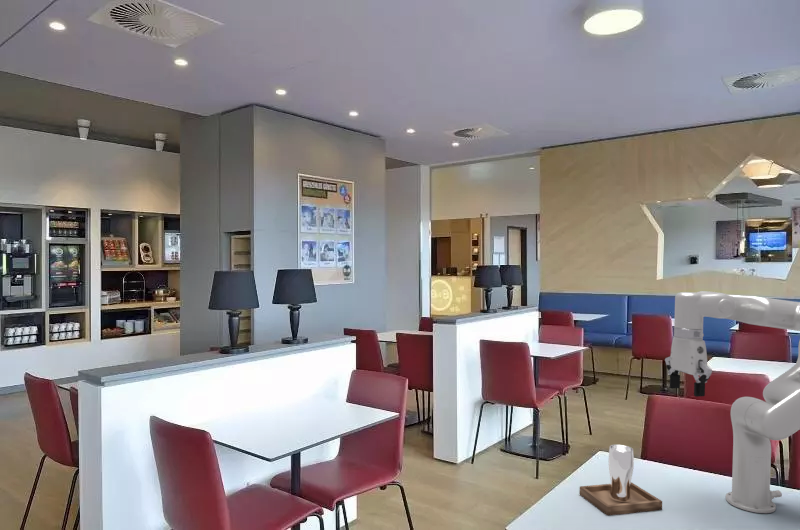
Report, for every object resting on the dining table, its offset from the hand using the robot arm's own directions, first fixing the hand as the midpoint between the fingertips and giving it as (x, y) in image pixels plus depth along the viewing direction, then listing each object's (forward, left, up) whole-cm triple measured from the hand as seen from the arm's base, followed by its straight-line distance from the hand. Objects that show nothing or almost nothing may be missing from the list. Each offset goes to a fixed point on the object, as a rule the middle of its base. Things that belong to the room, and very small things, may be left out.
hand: (686, 392), depth 163 cm
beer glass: (+18, -5, -32) cm, 37 cm away
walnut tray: (+18, -5, -33) cm, 38 cm away
